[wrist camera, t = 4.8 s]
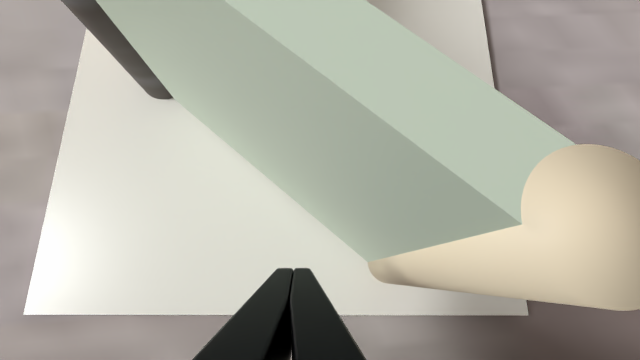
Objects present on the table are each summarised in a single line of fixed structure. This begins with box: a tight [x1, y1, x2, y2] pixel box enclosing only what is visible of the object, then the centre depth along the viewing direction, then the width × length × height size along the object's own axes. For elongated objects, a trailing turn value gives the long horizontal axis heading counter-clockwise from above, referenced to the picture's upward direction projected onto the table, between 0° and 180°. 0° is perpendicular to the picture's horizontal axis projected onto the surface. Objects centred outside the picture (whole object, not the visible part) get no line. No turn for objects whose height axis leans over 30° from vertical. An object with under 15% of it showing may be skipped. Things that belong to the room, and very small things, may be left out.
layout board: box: [23, 0, 528, 315], centre depth 18 cm, size 27×21×1 cm
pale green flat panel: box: [96, 0, 640, 311], centre depth 10 cm, size 2×13×11 cm, turn 50°
